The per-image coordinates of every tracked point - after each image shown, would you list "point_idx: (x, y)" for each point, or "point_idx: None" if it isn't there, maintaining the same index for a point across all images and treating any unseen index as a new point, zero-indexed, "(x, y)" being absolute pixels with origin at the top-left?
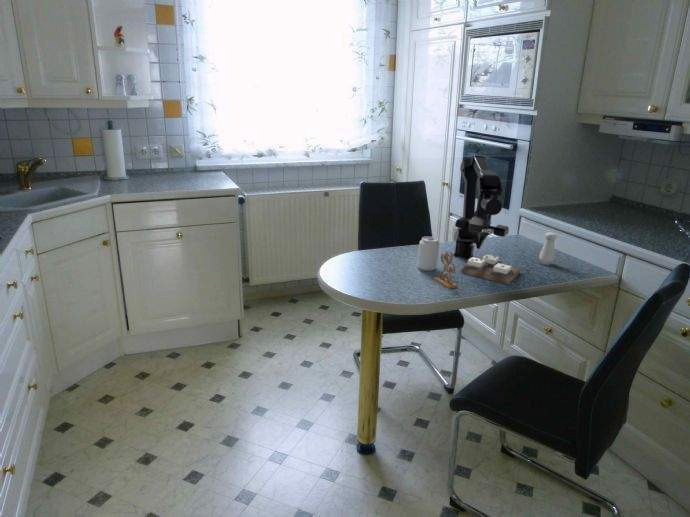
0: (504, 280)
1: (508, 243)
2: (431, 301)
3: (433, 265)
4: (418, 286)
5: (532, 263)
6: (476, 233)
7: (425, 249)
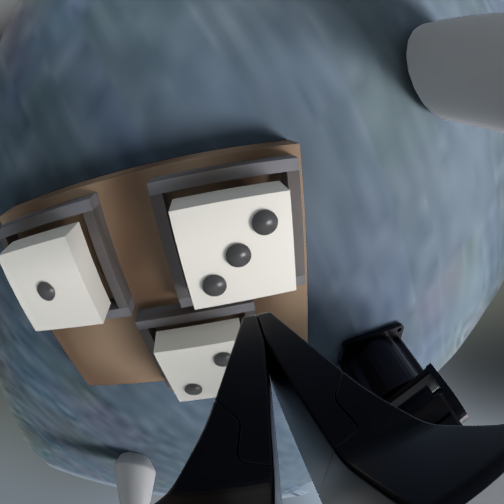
0: (20, 206)
1: (285, 474)
2: None
3: (423, 37)
4: None
5: (151, 446)
6: (400, 494)
7: None
